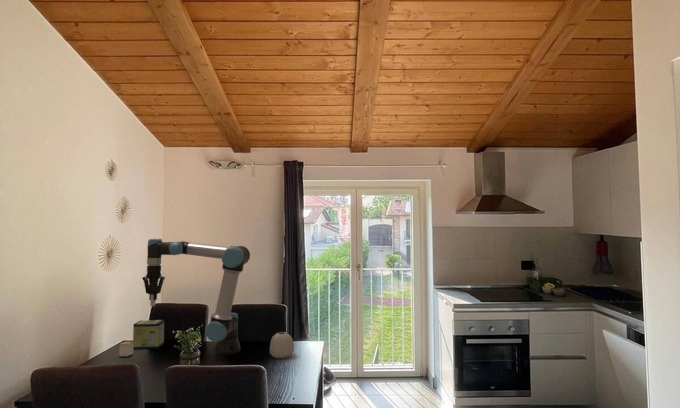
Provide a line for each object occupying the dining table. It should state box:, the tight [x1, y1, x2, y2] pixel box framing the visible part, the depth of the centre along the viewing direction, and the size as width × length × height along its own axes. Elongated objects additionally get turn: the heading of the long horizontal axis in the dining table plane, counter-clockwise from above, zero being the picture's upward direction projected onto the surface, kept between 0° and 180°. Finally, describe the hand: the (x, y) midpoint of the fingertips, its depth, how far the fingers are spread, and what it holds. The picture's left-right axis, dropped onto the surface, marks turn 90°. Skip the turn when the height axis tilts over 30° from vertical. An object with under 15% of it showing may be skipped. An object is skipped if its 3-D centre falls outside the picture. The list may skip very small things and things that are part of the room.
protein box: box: [132, 319, 165, 350], centre depth 245 cm, size 10×16×16 cm
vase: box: [269, 331, 295, 359], centre depth 224 cm, size 14×14×13 cm
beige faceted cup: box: [118, 341, 134, 357], centre depth 226 cm, size 5×5×7 cm
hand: (152, 305), depth 225 cm, fingers closed
